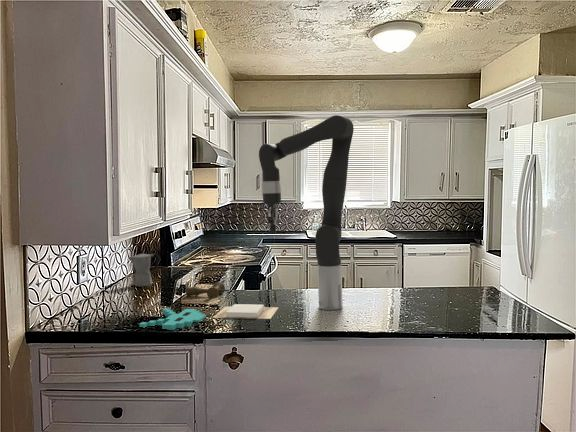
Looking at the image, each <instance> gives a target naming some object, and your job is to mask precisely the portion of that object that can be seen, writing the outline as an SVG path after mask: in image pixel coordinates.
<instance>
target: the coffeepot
mask: <svg viewBox="0 0 576 432" xmlns="http://www.w3.org/2000/svg"><path fill="white" fill-rule="evenodd" d="M139 252H140V253H139V254H136V255H132V256H128V260H130V261H131V263H132V264H133V266H134V267H133V268H134V270H135V273H134V282H133V286H134V285H135V286H134V287H137V286H138V288H139V287H150V286H152V285H153V284H154V283H153V278H152V274H151V272H150V269H151V263H152V262H151V261H152V259H153V258H155V263H154V267H152V270H156V269H157V268H158V264H159V263H160V262H159V261H160V258H161V257H160V256H159V254H158V253H148V254H147V253H144V250H143V249H141V250H139Z"/></svg>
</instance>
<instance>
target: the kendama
mask: <svg viewBox="0 0 576 432" xmlns="http://www.w3.org/2000/svg"><path fill="white" fill-rule="evenodd" d="M230 291H231V290H230V289H226V286H225V284H224V283H223V282H221V281H217V282H214V283H213V284H212V286H211V287H209V288H201V287H199V286H197V285H196V286H195V287H192V286H190V285H188V286H187V287H186V288H185V295H186V297H187V298H189V297H192V296H195V297H198V296H199V295H203V294H206V296H207V298H209V299H210V300H213V299H214V298H218V297H219V295H223V294H224V293H225V292H230Z"/></svg>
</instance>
